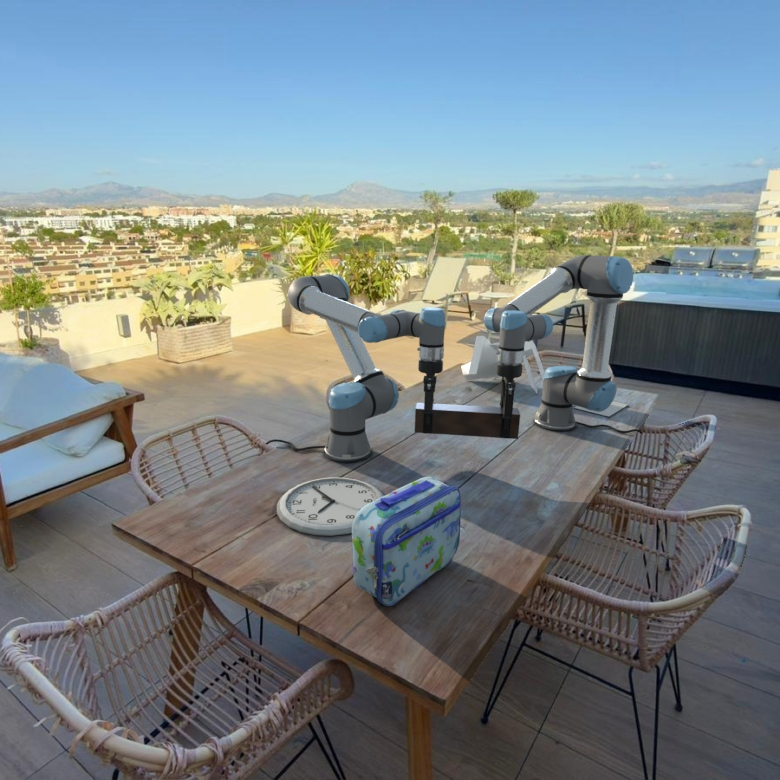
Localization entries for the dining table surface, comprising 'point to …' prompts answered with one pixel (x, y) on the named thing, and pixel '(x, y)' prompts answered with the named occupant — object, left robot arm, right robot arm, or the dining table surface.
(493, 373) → the white plastic object
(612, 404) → the invitation card
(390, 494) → the lunch box
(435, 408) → the walnut beam
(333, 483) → the wall clock
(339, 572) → the dining table surface
